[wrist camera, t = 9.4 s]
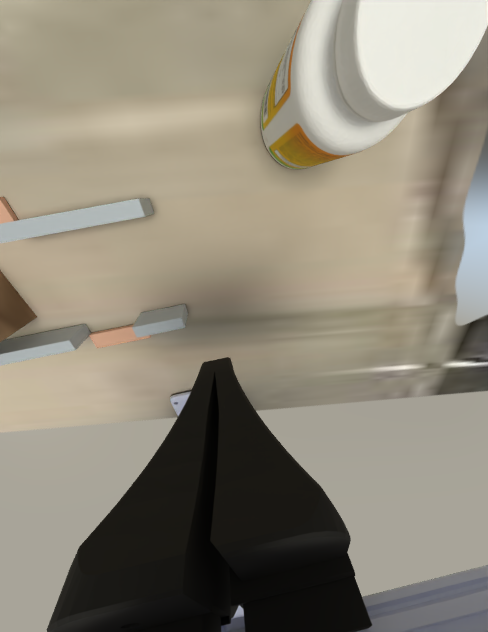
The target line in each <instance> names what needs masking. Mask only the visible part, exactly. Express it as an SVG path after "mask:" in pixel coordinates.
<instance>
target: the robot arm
mask: <svg viewBox="0 0 488 632" xmlns="http://www.w3.org/2000/svg"><path fill="white" fill-rule="evenodd" d="M170 401H171V403H172V405H173V407H174V409H175V411H176V413H177V415H178V418H177V420H176V422H175V424H174V425H173V427H172V429H171V430H170V432H169V434H168V435H167V437H166V438H165V440H164V441H163V443H162V444H161V446H160V447H159V449H158V450H157V452H156V453H155V455H154V456H153V458H152V459H151V461H150V462H149V463H148V465H147V466H146V467H145V469H144V470H143V471H142V473H141V474H140V475H139V477H138V478H137V479H136V481H135V482H134V483H133V484H132V486H131V487H130V488H129V490H128V491H127V492H126V493H125V494H124V496H123V497H122V498H121V499H120V501H119V502H118V503H117V505H116V506H115V507H114V508H113V509H112V510H111V512H110V513H109V514H108V515H107V516H106V517H105V518H104V520H103V521H102V522H101V523H100V524H99V525H98V526H97V528H96V529H95V530H94V531H93V532H92V533H91V534H90V536H89V537H88V538H87V539H86V540H85V541H84V542H83V543H82V545H81V546H80V547H79V549H78V551H77V554H76V556H75V558H74V560H73V563H72V565H71V567H70V570H69V572H68V575H67V578H66V581H65V583H64V586H63V588H62V591H61V594H60V596H59V599H58V602H57V604H56V607H55V609H54V612H53V615H52V617H51V620H50V623H49V625H48V628H47V632H488V565H486V566H482V567H478V568H474V569H470V570H466V571H462V572H458V573H454V574H450V575H447V576H443V577H439V578H435V579H431V580H427V581H423V582H419V583H415V584H411V585H407V586H403V587H400V588H395V589H392V590H387V591H383V592H380V593H376V594H372V595H368V596H364V597H362V596H361V593H360V591H359V588H358V585H357V583H356V580H355V577H354V576H355V572H354V569H353V566H352V564H351V561H350V559H349V556H348V553H347V551H348V548H349V544H350V535H349V532H348V530H347V528H346V526H345V524H344V522H343V520H342V518H341V517H340V515H339V513H338V512H337V510H336V509H335V507H334V505H333V504H332V503H331V501H330V500H329V498H328V497H327V495H326V494H325V492H324V491H323V489H322V488H321V486H320V485H319V484H318V483H317V482H316V481H315V480H314V479H313V478H312V477H311V476H310V475H309V474H308V473H307V472H306V471H305V470H304V469H303V468H302V467H301V466H300V465H299V464H298V463H297V462H296V461H295V459H294V458H293V457H292V456H291V455H290V454H289V453H288V452H287V451H286V449H285V448H284V447H283V446H282V445H281V443H280V442H279V441H278V440H277V439H276V437H275V436H274V435H273V434H272V433H271V431H270V430H269V429H268V427H267V426H266V425H265V424H264V422H263V421H262V420H261V418H260V417H259V415H258V414H257V412H256V411H255V409H254V408H253V406H252V405H251V403H250V402H249V400H248V398H247V397H246V395H245V393H244V392H243V390H242V388H241V386H240V384H239V382H238V380H237V378H236V376H235V373H234V370H233V366H232V362H231V359H230V358H228V357H227V358H222V359H217V360H213V361H208V362H204V363H203V364H202V366H201V369H200V372H199V374H198V377H197V379H196V381H195V384H194V386H193V388H192V390H191V391H190V392H186V393H181V394H176V395H173V396H171V398H170Z"/></svg>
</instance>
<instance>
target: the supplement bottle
mask: <svg viewBox="0 0 488 632" xmlns="http://www.w3.org/2000/svg"><path fill="white" fill-rule="evenodd" d="M487 25H488V0H311V2H310V4H309V6H308V8H307V9H306V11H305V13H304V15H303V17H302V19H301V21H300V24H299V26H298V27H297V29H296V31H295V33H294V35H293V37H292V39H291V41H290V43H289V45H288V47H287V49H286V51H285V53H284V55H283V57H282V59H281V61H280V63H279V65H278V67H277V69H276V71H275V73H274V75H273V77H272V79H271V81H270V83H269V85H268V88H267V90H266V93H265V96H264V99H263V103H262V109H261V131H262V136H263V140H264V143H265V145H266V147H267V149H268V151H269V153H270V154H271V156H272V157H273V158H274V159H275V160H276V161H277V162H278V163H280V164H281V165H283V166H285V167H287V168H290V169H304V168H308V167H312V166H315V165H318V164H321V163H325V162H328V161H332V160H335V159H338V158H342V157H345V156H349V155H352V154H355V153H358V152H361V151H363V150H365V149H367V148H369V147H371V146H373V145H375V144H376V143H378V142H379V141H381V140H382V139H384V138H385V137H386V136H387V135H388V134H389V133H390V132H392V131H393V130H394V128H395V127H396V126H397V125H398V124H399V123H400V122H401V121H402V119H403V118H404V117H405V116H406V114H407V113H408V112H410V111H412V110H414V109H417V108H419V107H421V106H423V105H425V104H426V103H428V102H430V101H431V100H433V99H434V98H435V97H437V96H438V95H439V94H441V93H442V92H443V91H444V90H445V89H446V88H447V87H448V86H449V85H450V84H451V83H452V82H453V81H454V80H455V79H456V78H457V77H458V75H459V74H460V73H461V71H462V70H463V69H464V67H465V66H466V65H467V63H468V62H469V60H470V59H471V57H472V55H473V54H474V52H475V50H476V48H477V46H478V45H479V43H480V41H481V39H482V37H483V35H484V32H485V30H486V28H487Z"/></svg>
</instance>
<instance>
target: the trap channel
mask: <svg viewBox="0 0 488 632" xmlns="http://www.w3.org/2000/svg"><path fill="white" fill-rule="evenodd" d="M152 214H154V211H153V208H152V205H151V202H150V199H149V198H141V199H133V200H128V201H122V202H117V203H111V204H106V205H101V206H95V207H90V208H84V209H79V210H73V211H68V212H62V213H57V214H51V215H46V216H40V217H35V218H29V219H24V220H18V218H17V217H16V215H15V214H14V212H13V211H12V209H11V208H10V206H9V204H8V203H7V201H6V200H5V198H4V197H0V243H5V242H10V241H16V240H21V239H26V238H32V237H37V236H43V235H48V234H53V233H59V232H64V231H70V230H75V229H80V228H86V227H91V226H97V225H102V224H108V223H113V222H118V221H124V220H129V219H135V218H140V217H145V216H148V215H152ZM187 316H188V312H187V309H186V306H185V304H182V305H177V306H172V307H167V308H162V309H157V310H152V311H147V312H142V313H141V314H140V315H139V317H138V318H137V320H136V322H135V323H134V324H133V325H128V326H123V327H118V328H113V329H108V330H103V331H98V332H93V333H91V332H90V331H89V329H88V327H87V326H86V324H82V325H77V326H72V327H67V328H62V329H57V330H52V331H47V332H42V333H37V334H32V335H27V336H22V337H17V338H12V339H7V340H3V341H1V342H0V365H5V364H10V363H15V362H20V361H25V360H30V359H35V358H40V357H44V356H49V355H54V354H59V353H64V352H69V351H74V350H76V349H77V348H78V347H79V346H80V345H81V344H82V343H83V342H84V340H85V339H86V338H87V337H88V336H90V338H91V340H92V341H93V343H94V344H95V346H96V347H97V348H101V347H106V346H111V345H116V344H121V343H126V342H131V341H136V340H140V339H145V338H150V337H151V335H152V334H157V333H162V332H167V331H172V330H177V329H182V328H185V326H186V321H187Z"/></svg>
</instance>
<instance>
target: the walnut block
mask: <svg viewBox="0 0 488 632" xmlns="http://www.w3.org/2000/svg"><path fill="white" fill-rule="evenodd" d="M36 317H37V316H36V315H35V313H34V312H33V311H32V310H31V308H30V307H29V306H28V305H27V303H26V302H25V301H24V300H23V298H22V297H21V296H20V295H19V293H18V292H17V291H16V290H15V288H14V287H13V286H12V285H11V283H10V282H9V281H8V280H7V278H6V277H5V276H4V275H3V273H2V272H1V271H0V342H1V341H3V340H4V339H6V338H7V337H9V336H10V335H12V334H13V333H14V332H16V331H17V330H19V329H20V328H22V327H23V326H25V325H26V324H27V323H29V322H30V321H32V320H33V319H35V318H36Z"/></svg>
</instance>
